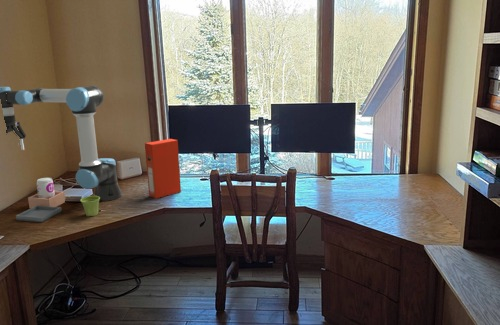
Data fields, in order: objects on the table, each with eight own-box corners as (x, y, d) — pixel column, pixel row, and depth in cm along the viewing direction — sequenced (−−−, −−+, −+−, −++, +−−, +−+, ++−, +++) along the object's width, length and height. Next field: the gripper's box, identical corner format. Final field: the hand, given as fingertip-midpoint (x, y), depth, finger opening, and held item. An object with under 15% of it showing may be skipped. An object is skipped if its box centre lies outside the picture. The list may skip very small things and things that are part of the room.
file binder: (148, 195, 240) (144, 142, 232) (173, 189, 251) (170, 138, 243) (156, 199, 234) (152, 144, 226) (180, 192, 246) (177, 140, 238)
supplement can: (59, 203, 229) (55, 177, 226) (48, 208, 222) (44, 182, 218) (48, 201, 232) (44, 176, 228) (36, 206, 224) (32, 180, 221)
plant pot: (90, 219, 206) (88, 203, 204) (78, 215, 211) (76, 199, 208) (105, 213, 213) (103, 197, 211) (93, 210, 218) (92, 194, 216)
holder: (65, 201, 232) (64, 191, 230) (50, 209, 219) (48, 199, 218) (46, 200, 234) (44, 190, 233) (29, 208, 222) (27, 197, 221)
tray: (61, 211, 217) (61, 207, 216) (42, 222, 202) (41, 217, 202) (37, 209, 220) (37, 205, 219) (16, 220, 206) (15, 215, 205)
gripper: (18, 112, 238) (23, 147, 243) (-18, 118, 214) (-11, 157, 219) (29, 112, 236) (34, 147, 241) (-6, 118, 212) (0, 157, 218)
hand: (12, 152), depth 230 cm, fingers open, 13 cm apart
